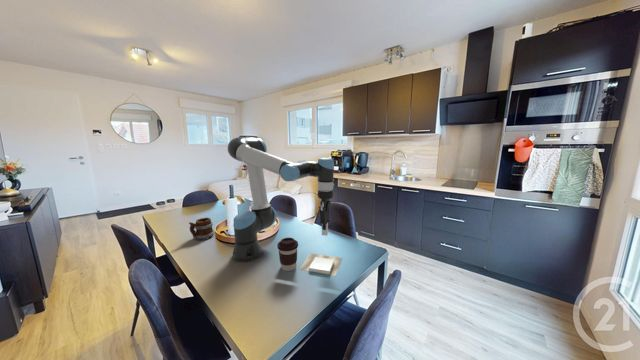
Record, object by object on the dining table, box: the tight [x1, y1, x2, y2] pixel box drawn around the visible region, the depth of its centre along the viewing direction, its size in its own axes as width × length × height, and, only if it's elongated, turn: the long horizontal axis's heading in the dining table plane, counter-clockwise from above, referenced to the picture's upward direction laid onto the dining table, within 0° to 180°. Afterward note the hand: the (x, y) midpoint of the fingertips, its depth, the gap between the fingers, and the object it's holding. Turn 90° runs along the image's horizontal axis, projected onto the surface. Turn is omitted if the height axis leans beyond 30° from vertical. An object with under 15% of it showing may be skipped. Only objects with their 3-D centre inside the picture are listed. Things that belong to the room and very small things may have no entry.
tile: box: [308, 257, 334, 276], centre depth 106 cm, size 10×2×10 cm
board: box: [299, 253, 343, 277], centre depth 110 cm, size 18×16×1 cm
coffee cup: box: [277, 237, 299, 272], centre depth 106 cm, size 10×10×15 cm
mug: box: [188, 217, 215, 241], centre depth 143 cm, size 12×14×15 cm
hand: (324, 234), depth 111 cm, fingers closed
